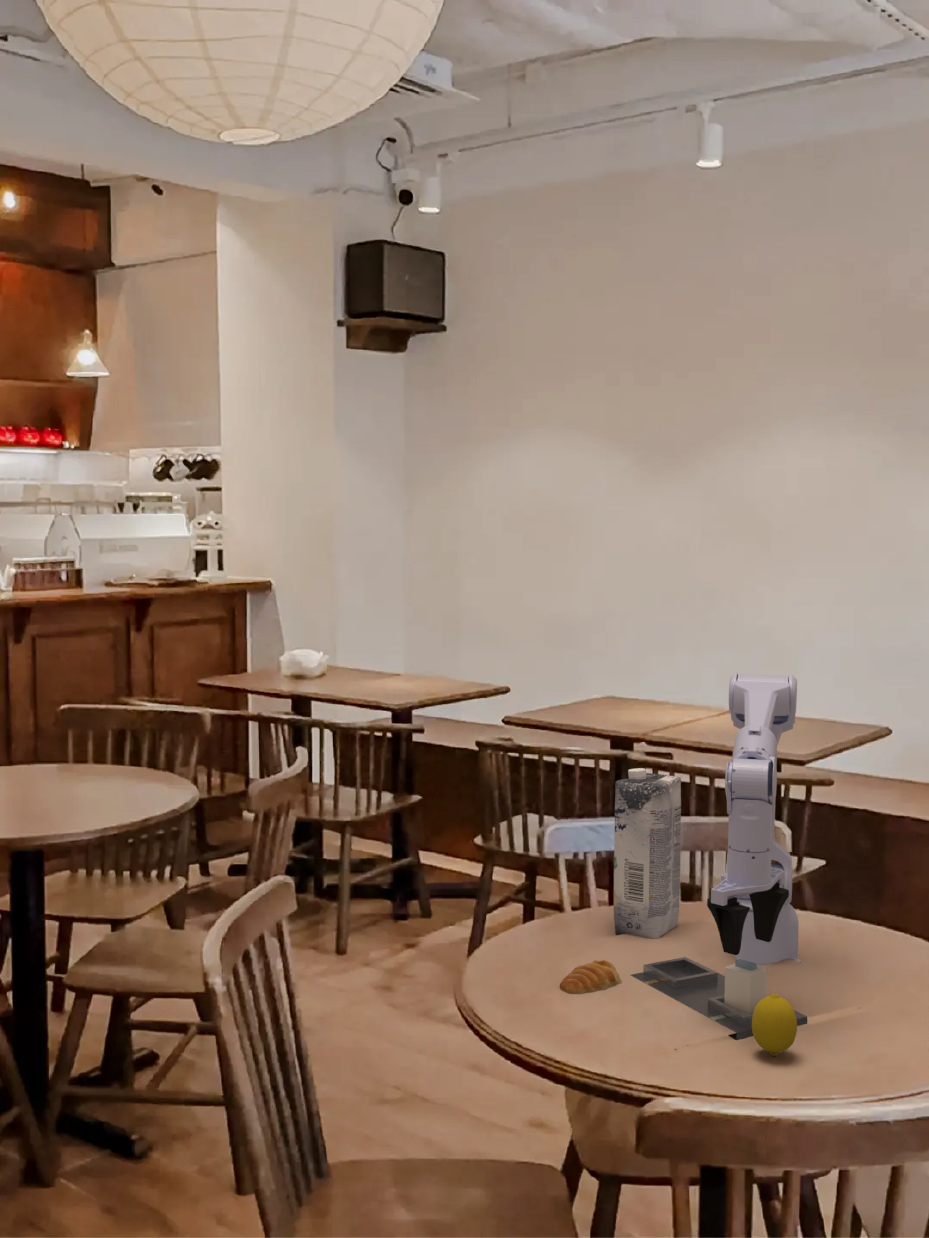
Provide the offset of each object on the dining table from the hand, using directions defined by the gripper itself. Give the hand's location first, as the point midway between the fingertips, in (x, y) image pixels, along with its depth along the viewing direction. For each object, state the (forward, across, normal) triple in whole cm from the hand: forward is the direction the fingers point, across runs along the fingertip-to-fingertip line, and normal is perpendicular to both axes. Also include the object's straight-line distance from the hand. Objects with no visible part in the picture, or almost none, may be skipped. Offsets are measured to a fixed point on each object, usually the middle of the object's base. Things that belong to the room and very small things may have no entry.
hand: (747, 946), depth 175 cm
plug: (+9, 0, 0) cm, 9 cm away
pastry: (+10, +7, -21) cm, 25 cm away
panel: (+10, -2, -6) cm, 12 cm away
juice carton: (+10, -18, -32) cm, 38 cm away
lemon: (+10, +8, +10) cm, 16 cm away
